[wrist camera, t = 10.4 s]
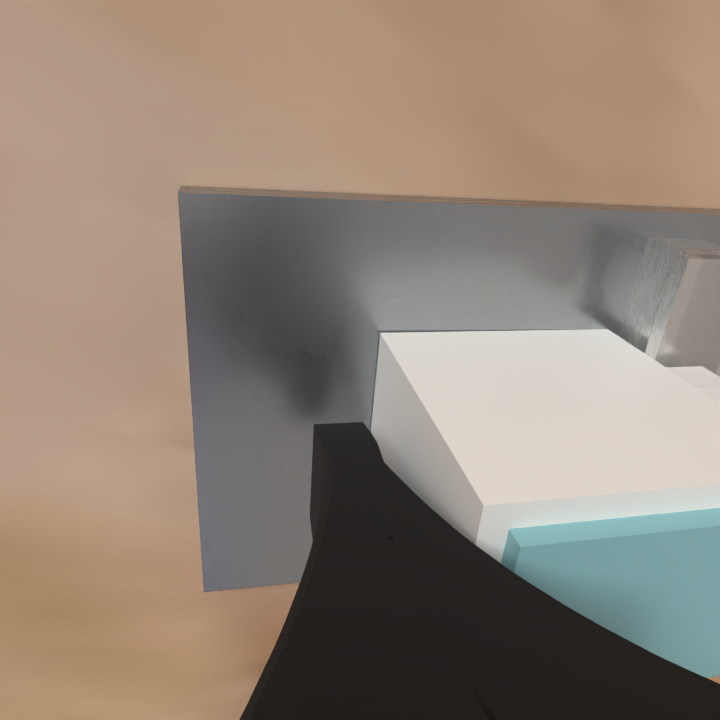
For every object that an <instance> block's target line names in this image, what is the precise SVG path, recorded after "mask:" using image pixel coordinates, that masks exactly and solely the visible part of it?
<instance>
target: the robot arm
mask: <svg viewBox="0 0 720 720" xmlns="http://www.w3.org/2000/svg"><path fill="white" fill-rule="evenodd" d="M310 522H311V531H312V539H313V543H312V547H311V550H310V554H309V557H308V560H307V563H306V566H305V569H304V572H303V575H302V578H301V581H300V584H299V587H298V590H297V592H296V595H295V598H294V600H293V603H292V605H291V608H290V611H289V613H288V616H287V618H286V621H285V624H284V626H283V628H282V631H281V633H280V636H279V638H278V640H277V642H276V645H275V647H274V649H273V651H272V653H271V656H270V658H269V660H268V662H267V664H266V666H265V668H264V670H263V672H262V675H261V677H260V679H259V681H258V683H257V685H256V687H255V689H254V691H253V694H252V696H251V698H250V700H249V702H248V704H247V706H246V708H245V710H244V712H243V714H242V716H241V718H240V720H720V684H718V683H716V682H714V681H712V680H709V679H707V678H705V677H703V676H701V675H698V674H696V673H694V672H692V671H690V670H688V669H685V668H683V667H681V666H679V665H677V664H674V663H672V662H670V661H668V660H666V659H664V658H662V657H660V656H658V655H656V654H654V653H652V652H650V651H648V650H646V649H644V648H642V647H640V646H638V645H636V644H634V643H632V642H631V641H629V640H627V639H625V638H623V637H621V636H619V635H617V634H615V633H614V632H612V631H610V630H608V629H606V628H604V627H602V626H600V625H599V624H597V623H595V622H593V621H592V620H590V619H588V618H586V617H585V616H583V615H581V614H579V613H578V612H576V611H574V610H572V609H571V608H569V607H567V606H566V605H564V604H562V603H561V602H559V601H558V600H556V599H554V598H553V597H551V596H550V595H548V594H546V593H545V592H543V591H542V590H540V589H538V588H537V587H535V586H534V585H532V584H530V583H529V582H527V581H526V580H524V579H523V578H521V577H520V576H518V575H517V574H515V573H514V572H512V571H511V570H509V569H508V568H506V567H505V566H503V565H502V564H501V563H499V562H498V561H497V560H495V559H494V558H493V557H491V556H490V555H489V554H487V553H486V552H484V551H483V550H482V549H480V548H479V547H478V546H476V545H475V544H474V543H472V542H471V541H470V540H468V539H467V538H466V537H465V536H463V535H462V534H461V533H459V532H458V531H457V530H456V529H455V528H453V527H452V526H451V525H450V524H449V523H448V522H446V521H445V520H444V519H443V518H442V517H441V516H439V515H438V514H437V513H436V512H435V511H434V510H433V509H431V508H430V507H429V506H428V505H427V504H426V503H425V502H424V501H423V500H422V499H421V498H419V497H418V496H417V495H416V494H415V493H414V492H413V491H412V490H411V489H410V488H409V487H408V486H407V485H406V484H405V483H404V482H403V481H402V480H401V479H400V478H399V477H398V476H397V475H396V474H395V473H394V472H393V471H392V470H391V469H390V468H389V466H388V465H387V464H386V463H385V462H384V460H383V458H382V455H381V452H380V449H379V446H378V443H377V441H376V440H375V438H374V436H373V435H372V433H371V432H370V430H369V429H368V428H367V427H366V425H365V424H364V423H363V422H350V423H328V424H314V429H313V452H312V475H311V497H310Z"/></svg>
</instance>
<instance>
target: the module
mask: <svg viewBox="0 0 720 720" xmlns="http://www.w3.org/2000/svg"><path fill="white" fill-rule="evenodd" d="M371 433H372V435H373V436H374V438H375V440H376V441H377V443H378V446H379V449H380V452H381V455H382V458H383V460H384V462H385V463H386V464H387V465H388V466H389V468H390V469H391V470H392V471H393V472H394V473H395V474H396V475H397V476H398V477H399V478H400V479H401V480H402V481H403V482H404V483H405V484H406V485H407V486H408V487H409V488H410V489H411V490H412V491H413V492H414V493H415V494H416V495H417V496H418V497H419V498H421V499H422V500H423V501H424V502H425V503H426V504H427V505H428V506H429V507H430V508H431V509H433V510H434V511H435V512H436V513H437V514H438V515H439V516H441V517H442V518H443V519H444V520H445V521H446V522H448V523H449V524H450V525H451V526H452V527H453V528H455V529H456V530H457V531H458V532H459V533H461V534H462V535H463V536H465V537H466V538H467V539H468V540H470V541H471V542H472V543H474V544H475V545H476V546H478V547H479V548H480V549H482V550H483V551H484V552H486V553H487V554H489V555H490V556H491V557H493V558H494V559H495V560H497V561H498V562H499V563H501V564H502V565H503V566H505V567H506V568H508V569H509V570H511V571H512V572H514V573H515V574H517V575H518V576H520V577H521V578H523V579H524V580H526V581H527V582H529V583H530V584H532V585H534V586H535V587H537V588H538V589H540V590H542V591H543V592H545V593H546V594H548V595H550V596H551V597H553V598H554V599H556V600H558V601H559V602H561V603H562V604H564V605H566V606H567V607H569V608H571V609H572V610H574V611H576V612H578V613H579V614H581V615H583V616H585V617H586V618H588V619H590V620H592V621H593V622H595V623H597V624H599V625H600V626H602V627H604V628H606V629H608V630H610V631H612V632H614V633H615V634H617V635H619V636H621V637H623V638H625V639H627V640H629V641H631V642H632V643H634V644H636V645H638V646H640V647H642V648H644V649H646V650H648V651H650V652H652V653H654V654H656V655H658V656H660V657H662V658H664V659H666V660H668V661H670V662H672V663H674V664H677V665H679V666H681V667H683V668H685V669H688V670H690V671H692V672H694V673H696V674H698V675H701V676H703V677H705V678H709V677H715V676H720V377H719V376H718V375H716V374H714V373H713V372H711V371H709V370H708V369H706V368H704V367H703V366H692V367H664V366H663V365H661V364H660V363H658V362H657V361H655V360H654V359H652V358H651V357H649V356H648V355H646V354H645V353H643V352H642V351H640V350H639V349H637V348H636V347H634V346H633V345H631V344H629V343H628V342H626V341H625V340H623V339H622V338H620V337H619V336H617V335H616V334H614V333H613V332H611V331H610V330H608V329H586V330H523V331H461V332H398V333H380V341H379V351H378V361H377V372H376V382H375V393H374V403H373V413H372V424H371Z"/></svg>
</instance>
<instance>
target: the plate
mask: <svg viewBox="0 0 720 720" xmlns="http://www.w3.org/2000/svg"><path fill="white" fill-rule="evenodd" d="M178 201H179V216H180V232H181V247H182V262H183V278H184V293H185V309H186V324H187V339H188V355H189V370H190V386H191V401H192V416H193V432H194V447H195V463H196V478H197V493H198V509H199V524H200V540H201V555H202V571H203V586H204V592H211V591H221V590H231V589H240V588H250V587H260V586H270V585H279V584H289V583H299V582H300V581H301V578H302V575H303V572H304V569H305V566H306V563H307V560H308V557H309V554H310V550H311V547H312V543H313V539H312V531H311V522H310V497H311V475H312V452H313V429H314V424H328V423H350V422H363V423H364V424H365V425H366V427H367V428H368V429H369V430H370V432H371V424H372V413H373V403H374V393H375V382H376V372H377V361H378V351H379V341H380V333H398V332H461V331H523V330H586V329H608V330H610V331H611V332H613V333H614V334H616V335H617V336H619V333H620V330H621V327H622V323H623V320H624V317H625V313H626V310H627V307H628V303H629V300H630V297H631V293H632V290H633V287H634V283H635V280H636V277H637V273H638V270H639V267H640V263H641V260H642V257H643V254H644V250H645V247H646V244H647V240H648V238H680V239H701V240H704V241H707V242H710V243H713V244H715V245H718V246H720V210H719V209H696V208H673V207H650V206H627V205H604V204H581V203H558V202H535V201H511V200H488V199H465V198H442V197H419V196H396V195H373V194H350V193H327V192H303V191H280V190H257V189H234V188H211V187H188V186H181V187H180V189H179V191H178Z"/></svg>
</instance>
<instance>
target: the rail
mask: <svg viewBox="0 0 720 720" xmlns="http://www.w3.org/2000/svg"><path fill="white" fill-rule="evenodd" d="M619 337H620V338H622V339H623V340H625V341H626V342H628V343H629V344H631V345H633V346H634V347H636V348H637V349H639V350H640V351H642V352H643V353H645V354H646V355H648V356H649V357H651V358H652V359H654V360H655V361H657V362H658V363H660V364H661V365H663V366H664V367H692V366H703V367H704V368H706V369H708V370H709V371H711V372H713V373H714V374H716V375H718V376H719V377H720V246H718V245H715V244H713V243H710V242H707V241H704V240H701V239H680V238H648V240H647V244H646V247H645V250H644V254H643V257H642V260H641V263H640V267H639V270H638V273H637V277H636V280H635V283H634V287H633V290H632V293H631V297H630V300H629V303H628V307H627V310H626V313H625V317H624V320H623V323H622V327H621V330H620V333H619Z"/></svg>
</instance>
